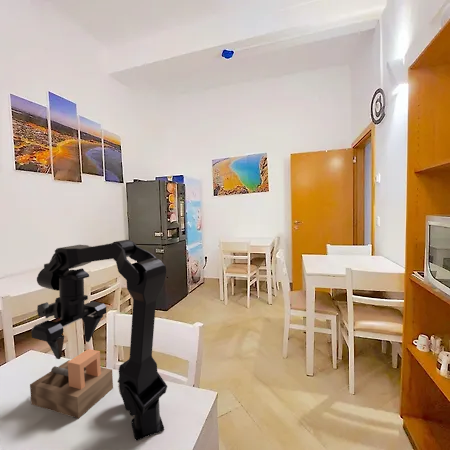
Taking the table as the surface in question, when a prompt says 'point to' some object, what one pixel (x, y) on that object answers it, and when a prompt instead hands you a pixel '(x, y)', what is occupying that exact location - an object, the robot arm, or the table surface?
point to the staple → (77, 365)
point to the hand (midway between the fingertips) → (73, 349)
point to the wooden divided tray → (70, 391)
